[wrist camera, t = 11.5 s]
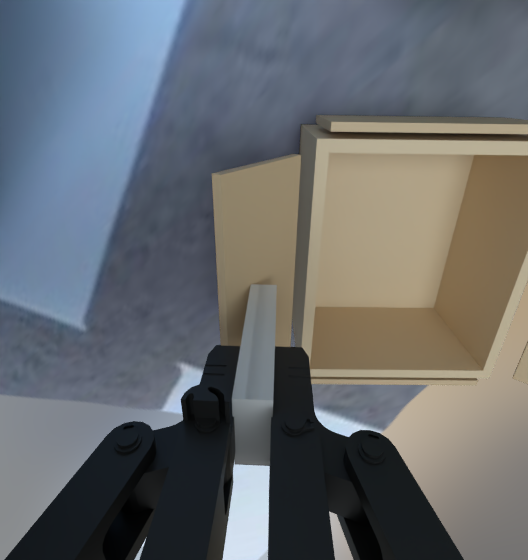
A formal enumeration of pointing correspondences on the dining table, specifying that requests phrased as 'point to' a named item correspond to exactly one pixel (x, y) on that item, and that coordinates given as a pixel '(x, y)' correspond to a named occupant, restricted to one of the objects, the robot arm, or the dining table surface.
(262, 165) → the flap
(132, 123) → the dining table surface
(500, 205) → the carton
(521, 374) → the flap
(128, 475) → the robot arm
